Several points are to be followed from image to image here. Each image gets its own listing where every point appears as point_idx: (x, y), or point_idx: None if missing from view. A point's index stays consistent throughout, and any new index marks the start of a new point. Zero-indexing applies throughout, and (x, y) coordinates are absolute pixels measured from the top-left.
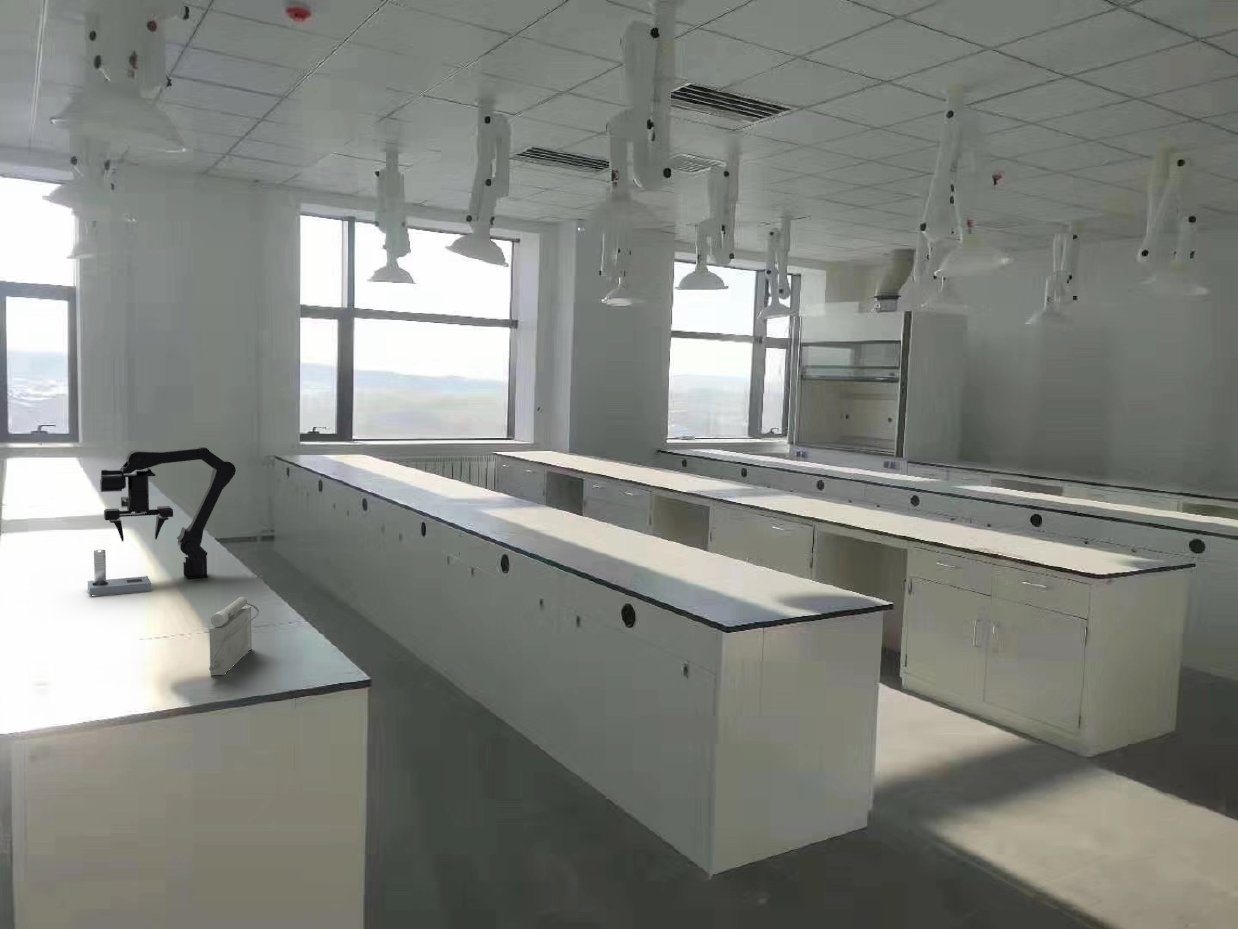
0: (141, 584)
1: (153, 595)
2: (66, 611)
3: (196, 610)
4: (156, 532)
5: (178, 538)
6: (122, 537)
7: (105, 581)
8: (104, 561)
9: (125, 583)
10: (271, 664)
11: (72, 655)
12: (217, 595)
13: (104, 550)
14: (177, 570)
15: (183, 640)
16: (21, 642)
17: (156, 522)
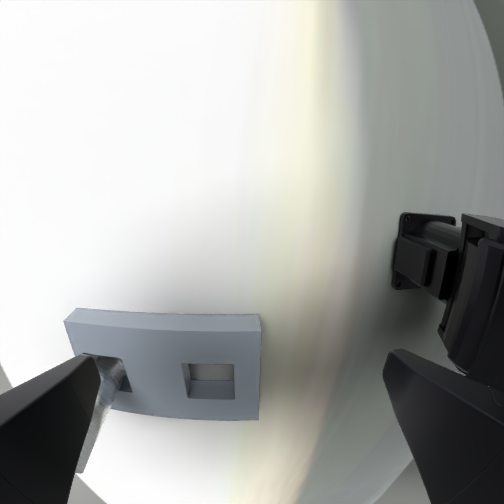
0: (229, 418)
1: (255, 432)
2: (100, 450)
3: (301, 494)
4: (409, 441)
5: (501, 308)
6: (83, 417)
7: (119, 387)
8: (95, 440)
9: (181, 402)
10: None
11: None
12: (369, 445)
13: (80, 469)
14: (393, 109)
15: None
16: (105, 497)
17: (496, 468)
